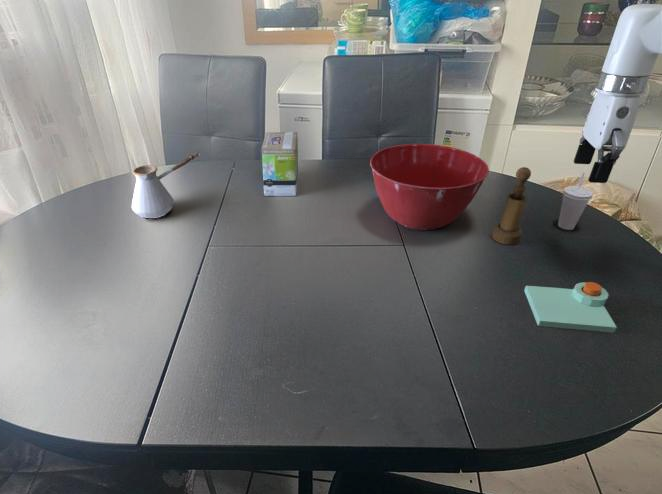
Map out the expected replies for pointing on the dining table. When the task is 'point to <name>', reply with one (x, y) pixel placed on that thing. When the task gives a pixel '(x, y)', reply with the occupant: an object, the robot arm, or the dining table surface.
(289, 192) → the tea box
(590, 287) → the button
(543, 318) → the mint green button board
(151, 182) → the coffee pot
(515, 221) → the mortar and pestle
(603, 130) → the robot arm
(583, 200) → the smoothie
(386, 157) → the mixing bowl
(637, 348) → the dining table surface
